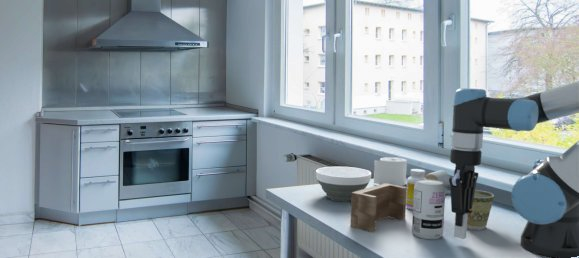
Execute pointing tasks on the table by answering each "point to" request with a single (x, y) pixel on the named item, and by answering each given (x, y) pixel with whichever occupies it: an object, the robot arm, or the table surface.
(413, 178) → the supplement bottle
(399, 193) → the wooden bridge block
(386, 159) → the toilet tissue
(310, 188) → the table surface
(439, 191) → the supplement can
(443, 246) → the table surface
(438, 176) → the ceramic mug
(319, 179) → the bowl
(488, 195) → the ceramic cup
